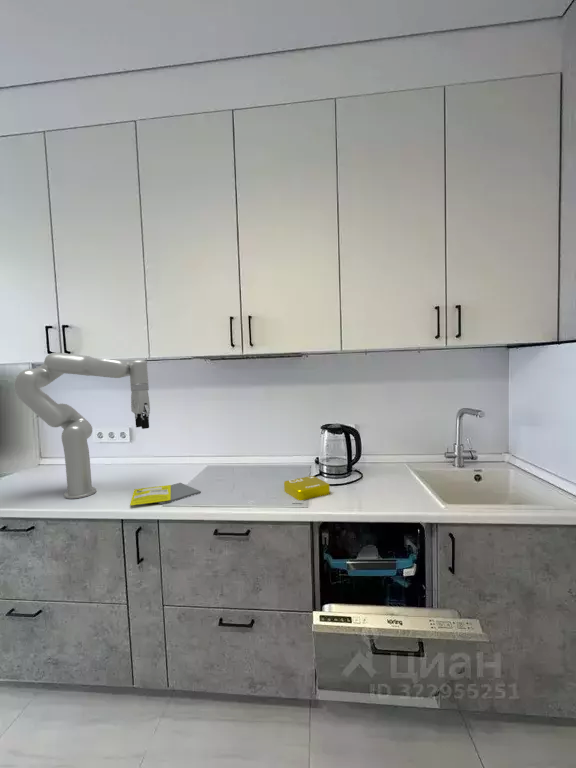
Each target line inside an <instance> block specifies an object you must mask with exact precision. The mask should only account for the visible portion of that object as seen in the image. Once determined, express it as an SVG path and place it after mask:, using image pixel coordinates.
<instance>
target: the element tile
mask: <svg viewBox="0 0 576 768" xmlns="http://www.w3.org/2000/svg"><path fill="white" fill-rule="evenodd" d="M283 485H284V486H283V487H284V488H283V489H284V490H283V491H284V493H286V494H288V495H289V496H290V497H292V498H293V499H295V500H298V501H306V500H312V499H315V498H319V497H324V496H328V495H330V493H331V491H330V490H331V488H330V483H329V482H326V481H325V480H322V479H320V478H318V477H317V476H315V475H309V476H304V477H299V478H293V479H289V480H285V481H284V482H283Z"/></svg>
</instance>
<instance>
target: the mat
mask: <svg viewBox="0 0 576 768" xmlns="http://www.w3.org/2000/svg"><path fill="white" fill-rule="evenodd" d="M170 485H171V500H168V501H162V502H155V503H157V504H159V505H160V506H163V505H166V504H169V502H170V503H173V502H175V500H176V501H179V500H182V499H181V498H183V499H185V498H184V497H186V498H188V497H187V496H189V497H192V496H191V495H193V496H195V495H194V494H196V495H199V494H201V493H202V490H199V489H196V488H194V487H191V486H189V485H187V484H185V483H182V482H178V483H175V484H170ZM198 493H199V494H198ZM178 499H179V500H178ZM172 501H173V502H172Z"/></svg>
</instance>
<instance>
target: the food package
mask: <svg viewBox="0 0 576 768" xmlns="http://www.w3.org/2000/svg"><path fill="white" fill-rule="evenodd" d="M171 485H172V484H167V485H159V486H151V487H142V488H135V489H134V490H133V492H132V497H131V499H130V503H129V506H137V505H145V504H153V503H156V502H162V501H168V500H171Z"/></svg>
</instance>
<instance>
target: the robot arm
mask: <svg viewBox="0 0 576 768" xmlns="http://www.w3.org/2000/svg"><path fill="white" fill-rule="evenodd" d="M64 374H69V375H76V376H77V375H79V376H87V377H88V376H89V377H90V376H91V377H103V378H114V379H120V378H126V377H129V381H130V382H129V383H130V393H131V394H130V404H131V405H130V408H131V412H132V413H133V414H134V419H135V428H141V429H142V430H145V429H149V428H150V413H151V404H150V403H151V402H150V396H149V389H150V388H149V387H150V386H149V375H148V374H149V372H148V363H147V361H146V359H145V360H144V359H141V360H140V359H136V360H135V359H134V360H122V359H121V360H115V359H104V358H96V357H92V356H89V355H81V354H73V353H72V354H71V353H63V352H52V353H49V354H48V355H46V357H44V361H43V363H42V364H40V366H38V367H37V368H36V367H35V368H28V369H24V370H22V371H21V372H19V373H18V374H17V376H16V378H15V381H14V385H13V386H14V391H15V394H16V396H17V397H18V399H20V401H21V402H22V403H23V404H24V405H25V406H27V407H28V408H29V409H30V410H31V411H32V412H33V413H34V414H35V415H36V416H38V417H39V418H40V419H41V420H43V422H45V424H46V425H47V426H50V427H51V428H60V427H61V428H62V429H63V430H62V432H61V443H62V448H63V454H64V461H65V462H64V463H65V474H66V475H65V476H66V485H67V491H65V492H64V493H63V496H64V499H67V500H69V499H71V500H72V499H73V500H74V499H81V498H86V497H88V496H89V497H90V496H91V495H93V494H95V493H96V492H97V488H96V487H94V486H93V484H92V470H91V469H92V468H91V458H90V450H89V445H88V439H90V437H91V436H92V434H93V426H92V424H91V423H90V422H89V420H87V418H85V417H84V416H83V415H81V414H80V413H79V412H78V411H77V410H76V409H75V408H74V407H72V406H71V405H69V404H67V403H57V402H56V401H55V400H53V399H52V398H51V397H50V396H49V395H48V394H47V393H45V392H44V391H42V390H41V389H40V388H44V387H46V386H48V385H50V384H51V383H52V382H54V381H55V380H57V379H58V378H60V377H61V376H63V375H64Z"/></svg>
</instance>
